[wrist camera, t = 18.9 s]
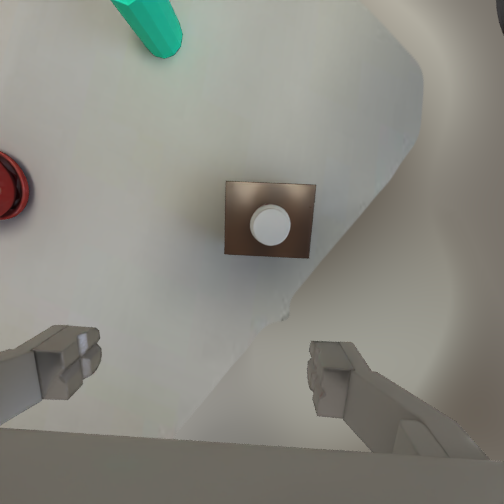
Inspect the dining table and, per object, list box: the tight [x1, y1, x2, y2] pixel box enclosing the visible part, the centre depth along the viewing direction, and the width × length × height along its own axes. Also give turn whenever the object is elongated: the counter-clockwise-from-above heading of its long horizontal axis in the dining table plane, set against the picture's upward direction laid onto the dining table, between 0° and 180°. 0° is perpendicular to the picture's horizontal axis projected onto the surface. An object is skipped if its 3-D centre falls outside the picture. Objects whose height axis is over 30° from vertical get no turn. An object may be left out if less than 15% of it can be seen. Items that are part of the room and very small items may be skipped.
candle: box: [111, 0, 183, 58], centre depth 29 cm, size 6×6×12 cm
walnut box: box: [224, 181, 316, 259], centre depth 37 cm, size 12×10×7 cm
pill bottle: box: [250, 204, 291, 246], centre depth 30 cm, size 5×5×8 cm
